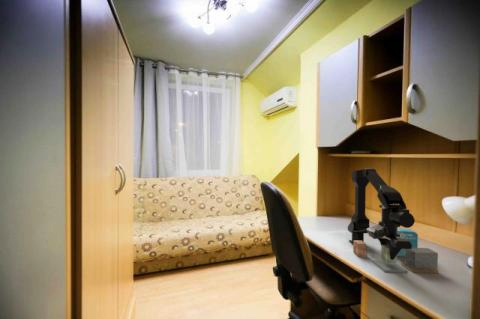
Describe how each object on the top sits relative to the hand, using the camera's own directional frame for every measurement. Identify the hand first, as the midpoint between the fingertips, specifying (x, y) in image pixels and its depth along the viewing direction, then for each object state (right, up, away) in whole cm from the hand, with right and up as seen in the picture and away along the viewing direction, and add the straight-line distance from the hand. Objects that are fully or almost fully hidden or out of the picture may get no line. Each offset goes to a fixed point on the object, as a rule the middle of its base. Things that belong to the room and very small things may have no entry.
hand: (388, 257), depth 95 cm
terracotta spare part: (-6, -4, +12) cm, 14 cm away
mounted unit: (+12, -4, -1) cm, 13 cm away
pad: (0, -4, 0) cm, 4 cm away
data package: (+14, -5, +13) cm, 20 cm away
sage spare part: (0, -2, 0) cm, 2 cm away
